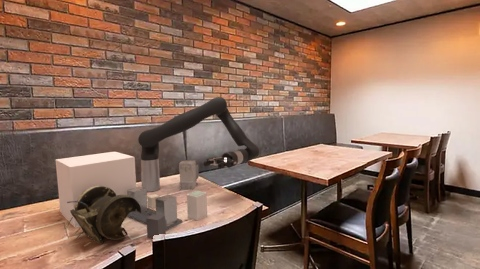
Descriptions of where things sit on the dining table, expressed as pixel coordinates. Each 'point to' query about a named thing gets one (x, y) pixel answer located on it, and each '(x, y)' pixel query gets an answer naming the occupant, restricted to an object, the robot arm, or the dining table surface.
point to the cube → (93, 177)
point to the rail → (163, 207)
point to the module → (197, 205)
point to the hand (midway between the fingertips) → (211, 165)
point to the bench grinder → (102, 213)
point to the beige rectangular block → (152, 200)
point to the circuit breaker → (188, 174)
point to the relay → (155, 225)
